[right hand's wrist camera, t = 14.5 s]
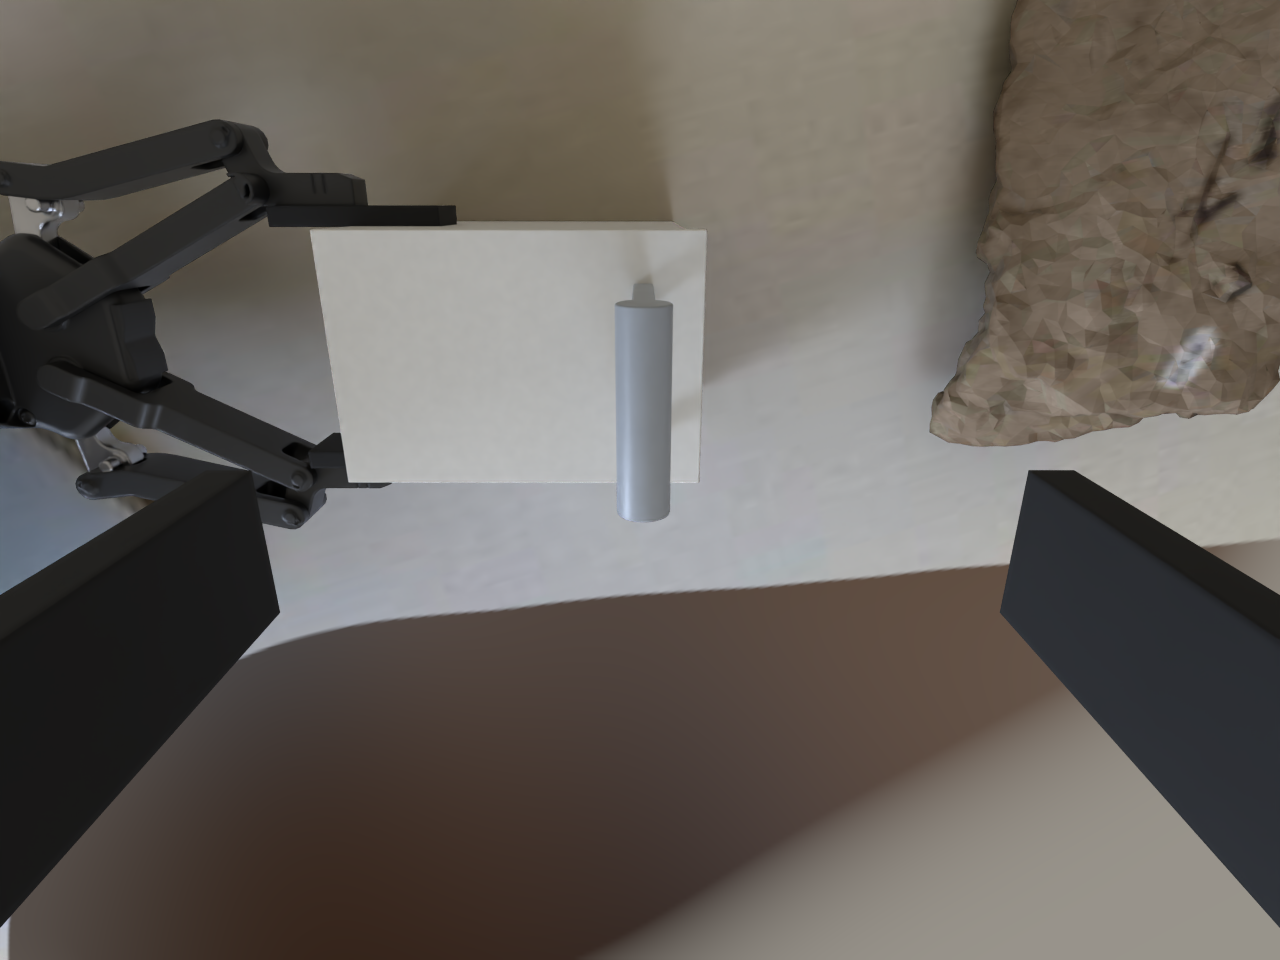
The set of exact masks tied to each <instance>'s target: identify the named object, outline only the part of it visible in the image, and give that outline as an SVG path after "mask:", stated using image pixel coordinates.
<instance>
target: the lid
mask: <svg viewBox="0 0 1280 960" xmlns="http://www.w3.org/2000/svg"><path fill="white" fill-rule="evenodd" d="M310 236H311V242H312V249H313V255H314V262H315V268H316V275H317V281H318V288H319V294H320V301H321V307H322V314H323V320H324V326H325V333H326V339H327V346H328V352H329V359H330V365H331V372H332V378H333V385H334V391H335V398H336V404H337V411H338V417H339V424H340V430H341V437H342V443H343V450H344V456H345V462H346V469H347V475H348V482H390V483H617V512H618V514H619V516H620V517H622V518H624V519H626V520H629V521H634V522H653V521H658V520H661V519H663V518H665V517H667V516H668V514H669V512H670V483H699V476H700V445H701V413H702V382H703V350H704V319H705V287H706V256H707V230H706V229H311V230H310Z"/></svg>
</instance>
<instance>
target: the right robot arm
mask: <svg viewBox="0 0 1280 960" xmlns="http://www.w3.org/2000/svg"><path fill="white" fill-rule="evenodd" d="M279 613H280V610H279V605H278V600H277V595H276V590H275V585H274V580H273V575H272V570H271V565H270V560H269V555H268V550H267V545H266V540H265V535H264V531H263V526H262V521H261V516H260V511H259V506H258V501H257V496H256V491H255V486H254V481H253V476H252V471H251V470H206V471H204V472H202V473H201V474H199V475H198V476H196V477H194V478H193V479H191V480H189V481H188V482H186V483H184V484H183V485H181V486H179V487H178V488H176V489H174V490H173V491H171V492H169V493H168V494H166V495H165V496H163V497H161V498H160V499H158V500H156V501H155V502H153V503H151V504H150V505H148V506H146V507H145V508H143V509H141V510H140V511H138V512H136V513H135V514H133V515H132V516H130V517H128V518H127V519H125V520H123V521H122V522H120V523H118V524H117V525H115V526H113V527H112V528H110V529H108V530H107V531H105V532H103V533H102V534H100V535H99V536H97V537H95V538H94V539H92V540H90V541H89V542H87V543H85V544H84V545H82V546H80V547H79V548H77V549H75V550H74V551H72V552H70V553H69V554H67V555H66V556H64V557H62V558H61V559H59V560H57V561H56V562H54V563H52V564H51V565H49V566H47V567H46V568H44V569H42V570H41V571H39V572H38V573H36V574H34V575H33V576H31V577H29V578H28V579H26V580H24V581H23V582H21V583H19V584H18V585H16V586H14V587H13V588H11V589H9V590H8V591H6V592H5V593H3V594H1V595H0V927H1V926H2V925H3V924H4V923H5V922H6V921H7V919H8V918H9V917H10V916H11V915H12V914H13V913H14V912H15V910H16V909H17V908H18V907H19V906H20V905H21V904H22V903H23V901H24V900H25V899H26V898H27V897H28V896H29V895H30V894H31V892H32V891H33V890H34V889H35V888H36V887H37V886H38V885H39V883H40V882H41V881H42V880H43V879H44V878H45V877H46V876H47V874H48V873H49V872H50V871H51V870H52V869H53V868H54V867H55V865H56V864H57V863H58V862H59V861H60V860H61V859H62V858H63V856H64V855H65V854H66V853H67V852H68V851H69V850H70V849H71V847H72V846H73V845H74V844H75V843H76V842H77V841H78V839H79V838H80V837H81V836H82V835H83V834H84V833H85V832H86V831H87V829H88V828H89V827H90V826H91V825H92V824H93V823H94V822H95V820H96V819H97V818H98V817H99V816H100V815H101V814H102V812H103V811H104V810H105V809H106V808H107V807H108V806H109V805H110V803H111V802H112V801H113V800H114V799H115V798H116V797H117V796H118V794H119V793H120V792H121V791H122V790H123V789H124V788H125V787H126V785H127V784H128V783H129V782H130V781H131V780H132V779H133V778H134V776H135V775H136V774H137V773H138V772H139V771H140V770H141V769H142V767H143V766H144V765H145V764H146V763H147V762H148V761H149V760H150V758H151V757H152V756H153V755H154V754H155V753H156V752H157V751H158V749H159V748H160V747H161V746H162V745H163V744H164V743H165V742H166V740H167V739H168V738H169V737H170V736H171V735H172V734H173V733H174V731H175V730H176V729H177V728H178V727H179V726H180V725H181V724H182V722H183V721H184V720H185V719H186V718H187V717H188V716H189V715H190V713H191V712H192V711H193V710H194V709H195V708H196V707H197V706H198V704H199V703H200V702H201V701H202V700H203V699H204V698H205V697H206V695H207V694H208V693H209V692H210V691H211V690H212V689H213V688H214V686H215V685H216V684H217V683H218V682H219V681H220V680H221V679H222V677H223V676H224V675H225V674H226V673H227V672H228V671H229V669H230V668H231V667H232V666H233V665H234V664H235V663H236V662H237V660H238V659H239V658H240V657H241V656H242V655H243V654H244V653H245V651H246V650H247V649H248V648H249V647H250V646H251V645H252V644H253V642H254V641H255V640H256V639H257V638H258V637H259V636H260V635H261V633H262V632H263V631H264V630H265V629H266V628H267V627H268V626H269V624H270V623H271V622H272V621H273V620H274V619H275V618H276V617H277V615H278V614H279ZM1000 613H1001V614H1002V615H1003V617H1004V618H1005V619H1006V620H1007V621H1008V622H1009V623H1010V624H1011V626H1012V627H1013V628H1014V629H1015V630H1016V631H1017V632H1018V633H1019V635H1020V636H1021V637H1022V638H1023V639H1024V640H1025V641H1026V642H1027V644H1028V645H1029V646H1030V647H1031V648H1032V649H1033V650H1034V651H1035V653H1036V654H1037V655H1038V656H1039V657H1040V658H1041V659H1042V660H1043V662H1044V663H1045V664H1046V665H1047V666H1048V667H1049V668H1050V669H1051V671H1052V672H1053V673H1054V674H1055V675H1056V676H1057V677H1058V679H1059V680H1060V681H1061V682H1062V683H1063V684H1064V685H1065V686H1066V688H1067V689H1068V690H1069V691H1070V692H1071V693H1072V694H1073V695H1074V697H1075V698H1076V699H1077V700H1078V701H1079V702H1080V703H1081V704H1082V706H1083V707H1084V708H1085V709H1086V710H1087V711H1088V712H1089V713H1090V715H1091V716H1092V717H1093V718H1094V719H1095V720H1096V721H1097V722H1098V724H1099V725H1100V726H1101V727H1102V728H1103V729H1104V730H1105V731H1106V733H1107V734H1108V735H1109V736H1110V737H1111V738H1112V739H1113V740H1114V742H1115V743H1116V744H1117V745H1118V746H1119V747H1120V748H1121V749H1122V751H1123V752H1124V753H1125V754H1126V755H1127V756H1128V757H1129V758H1130V760H1131V761H1132V762H1133V763H1134V764H1135V765H1136V766H1137V767H1138V769H1139V770H1140V771H1141V772H1142V773H1143V774H1144V775H1145V776H1146V778H1147V779H1148V780H1149V781H1150V782H1151V783H1152V784H1153V785H1154V787H1155V788H1156V789H1157V790H1158V791H1159V792H1160V793H1161V794H1162V796H1163V797H1164V798H1165V799H1166V800H1167V801H1168V802H1169V803H1170V805H1171V806H1172V807H1173V808H1174V809H1175V810H1176V811H1177V812H1178V814H1179V815H1180V816H1181V817H1182V818H1183V819H1184V820H1185V822H1186V823H1187V824H1188V825H1189V826H1190V827H1191V828H1192V829H1193V830H1194V832H1195V833H1196V834H1197V835H1198V836H1199V837H1200V838H1201V839H1202V841H1203V842H1204V843H1205V844H1206V845H1207V846H1208V847H1209V849H1210V850H1211V851H1212V852H1213V853H1214V854H1215V855H1216V856H1217V858H1218V859H1219V860H1220V861H1221V862H1222V863H1223V864H1224V865H1225V866H1226V868H1227V869H1228V870H1229V871H1230V872H1231V873H1232V874H1233V876H1234V877H1235V878H1236V879H1237V880H1238V881H1239V882H1240V883H1241V885H1242V886H1243V887H1244V888H1245V889H1246V890H1247V891H1248V892H1249V894H1250V895H1251V896H1252V897H1253V898H1254V899H1255V900H1256V901H1257V903H1258V904H1259V905H1260V906H1261V907H1262V908H1263V909H1264V910H1265V912H1266V913H1267V914H1268V915H1269V916H1270V917H1271V918H1272V919H1273V921H1274V922H1275V923H1276V924H1277V925H1278V926H1279V927H1280V595H1279V594H1277V593H1275V592H1274V591H1272V590H1271V589H1269V588H1267V587H1266V586H1264V585H1262V584H1261V583H1259V582H1257V581H1256V580H1254V579H1252V578H1251V577H1249V576H1247V575H1246V574H1244V573H1242V572H1241V571H1239V570H1238V569H1236V568H1234V567H1233V566H1231V565H1229V564H1228V563H1226V562H1224V561H1223V560H1221V559H1219V558H1218V557H1216V556H1214V555H1213V554H1211V553H1210V552H1208V551H1206V550H1205V549H1203V548H1201V547H1200V546H1198V545H1196V544H1195V543H1193V542H1191V541H1190V540H1188V539H1186V538H1185V537H1183V536H1181V535H1180V534H1178V533H1177V532H1175V531H1173V530H1172V529H1170V528H1168V527H1167V526H1165V525H1163V524H1162V523H1160V522H1158V521H1157V520H1155V519H1153V518H1152V517H1150V516H1148V515H1147V514H1145V513H1144V512H1142V511H1140V510H1139V509H1137V508H1135V507H1134V506H1132V505H1130V504H1129V503H1127V502H1125V501H1124V500H1122V499H1120V498H1119V497H1117V496H1115V495H1114V494H1112V493H1111V492H1109V491H1107V490H1106V489H1104V488H1102V487H1101V486H1099V485H1097V484H1096V483H1094V482H1092V481H1091V480H1089V479H1087V478H1086V477H1084V476H1082V475H1081V474H1079V473H1078V472H1076V471H1074V470H1029V471H1028V476H1027V481H1026V486H1025V491H1024V496H1023V501H1022V506H1021V511H1020V516H1019V521H1018V526H1017V531H1016V535H1015V540H1014V545H1013V550H1012V555H1011V560H1010V565H1009V570H1008V575H1007V580H1006V585H1005V590H1004V595H1003V600H1002V605H1001V610H1000Z"/></svg>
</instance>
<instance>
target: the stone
mask: <svg viewBox="0 0 1280 960" xmlns="http://www.w3.org/2000/svg"><path fill="white" fill-rule="evenodd" d="M1009 56H1010V62H1011V72H1010V74H1009V75H1008V77H1007V78H1006V80H1005V81H1004V83H1003V87H1002V91H1001V94H1000V97H999V99H998V102H997V104H996V107H995V109H994V111H993V130H994V134H995V137H996V141H997V142H996V147H995V149H996V167H995V173H996V178H997V181H996V183H995V185H994V187H993V189H992V191H991V193H990V197H989V214H988V216H987V218H986V221H985V225H984V228H983V231H982V233H981V235H980V238H979V240H978V243H977V249H976V254H977V258H979V259H980V260H982V261H983V262H985V263H986V264H988V267H989V270H990V273H989V275H988V277H987V279H986V282H985V293H986V299H985V302H984V306H983V308H984V310H985V314H984V315H983V317H982V318H981V319H980V320H979V326H978V331H979V332H978V333H977V334H976V335H975V336H974V338H973V339H972V340H970V341H968V342H966V344H965V346H964V348H963V351H962V353H961V355H960V357H959V359H958V365H957V372H956V374H955V376H954V377H953V378H952V379H951V380H950V382H949V383H948V385H947V386H946V388H945V389H944V391H943V392H940V393H938V394H937V395H936V397H935V398H934V399H933V403H932V419H931V422H930V433H932V434H934V435H936V436H938V437H939V438H941V439H943V440H945V441H947V442H949V443H959V444H964V445H970V446H979V447H985V446H1016V445H1024V444H1029V443H1032V442H1036V441H1052V442H1057V441H1060V440H1063V439H1070V438H1076V437H1079V436H1081V435H1084V434H1087V433H1089V432H1092V431H1101V430H1107V429H1111V428H1122V427H1130V426H1133V425H1135V424H1137V423H1139V422H1140V421H1141V420H1142V419H1143V418H1145V417H1152V416H1158V415H1161V414H1168V413H1177V414H1178V416H1179V417H1183V418H1188V419H1189V418H1192V417H1194V416H1196V415H1211V414H1241V413H1245V412H1249V411H1250V410H1251V409H1254V408H1255V407H1256V405H1257V404H1258V403H1259V402H1260V401H1261V400H1262V399H1263V398H1264V397H1265V396H1266V395H1267V394H1268V393H1269V392H1270V391H1271V390H1272V389H1273V388H1274V387H1275V386H1276V384H1277V383H1278V382H1279V381H1280V377H1279V373H1278V370H1279V366H1280V0H1017V4H1016V7H1015V9H1014V12H1013V14H1012V18H1011V32H1010V41H1009Z"/></svg>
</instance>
